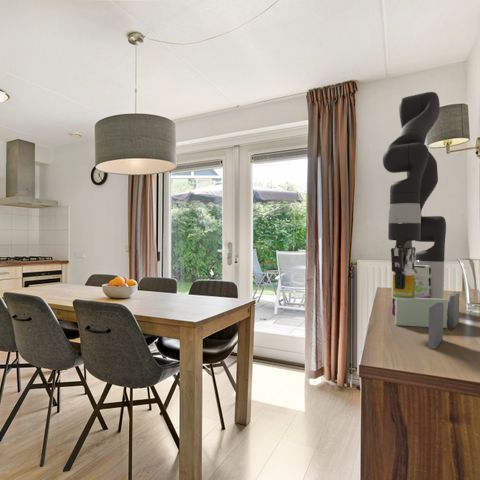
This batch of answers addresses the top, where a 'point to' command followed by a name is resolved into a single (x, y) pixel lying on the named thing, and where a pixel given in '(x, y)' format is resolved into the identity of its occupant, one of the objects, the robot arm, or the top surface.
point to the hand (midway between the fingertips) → (403, 287)
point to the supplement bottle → (409, 289)
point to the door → (417, 311)
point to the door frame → (437, 319)
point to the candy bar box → (420, 283)
